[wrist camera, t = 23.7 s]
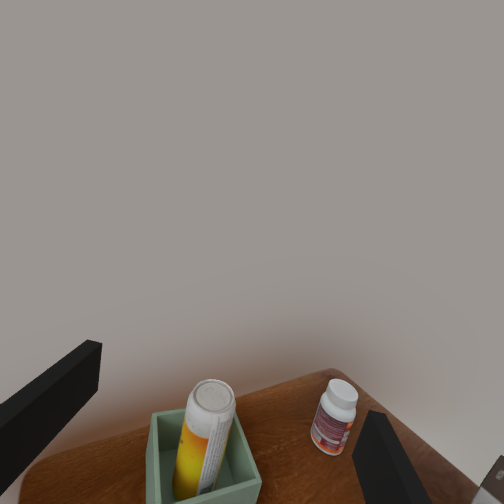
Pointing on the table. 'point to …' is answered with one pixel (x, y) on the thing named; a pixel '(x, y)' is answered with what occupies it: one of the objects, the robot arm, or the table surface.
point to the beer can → (203, 439)
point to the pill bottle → (334, 417)
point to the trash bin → (231, 472)
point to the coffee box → (492, 486)
